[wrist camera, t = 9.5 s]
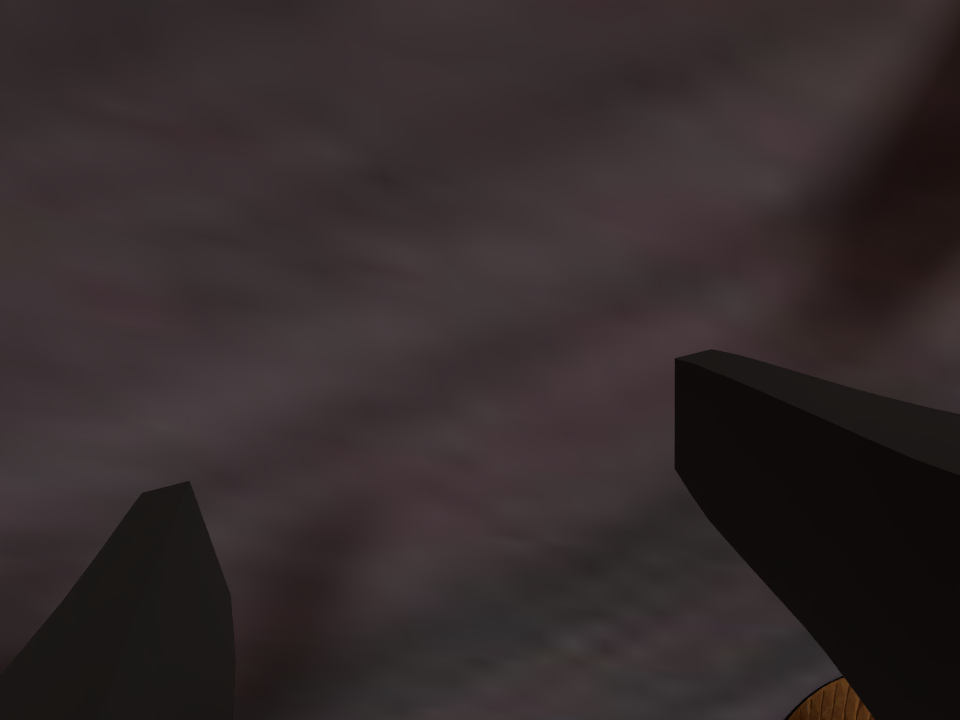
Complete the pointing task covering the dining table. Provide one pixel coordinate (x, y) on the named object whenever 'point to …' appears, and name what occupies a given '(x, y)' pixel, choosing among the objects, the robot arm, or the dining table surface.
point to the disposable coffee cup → (833, 704)
